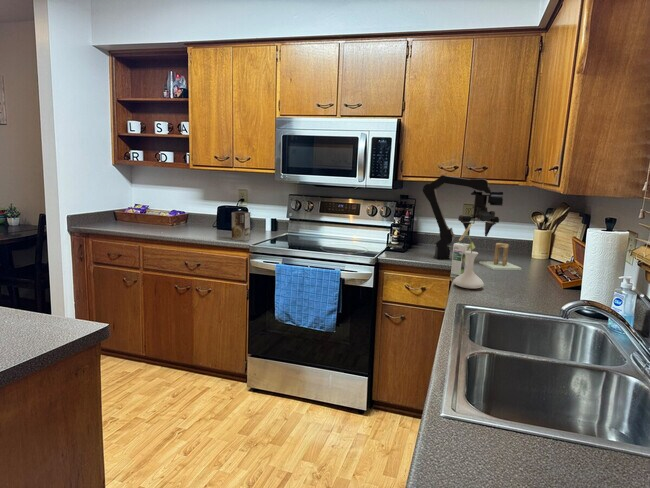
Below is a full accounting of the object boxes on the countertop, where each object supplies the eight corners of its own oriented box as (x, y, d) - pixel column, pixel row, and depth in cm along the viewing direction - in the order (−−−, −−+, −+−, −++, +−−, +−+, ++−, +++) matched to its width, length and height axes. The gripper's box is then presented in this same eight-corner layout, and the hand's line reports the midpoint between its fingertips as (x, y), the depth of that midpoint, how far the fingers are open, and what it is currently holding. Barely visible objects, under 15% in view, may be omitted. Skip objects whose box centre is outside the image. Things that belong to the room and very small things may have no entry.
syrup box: (449, 277, 194) (452, 243, 192) (457, 275, 199) (460, 242, 196) (462, 279, 190) (465, 245, 188) (469, 277, 195) (472, 244, 192)
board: (493, 269, 212) (493, 267, 212) (479, 263, 226) (479, 261, 226) (521, 270, 214) (521, 268, 214) (505, 263, 228) (506, 261, 228)
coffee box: (250, 239, 267) (251, 212, 265) (244, 241, 262) (245, 213, 259) (237, 238, 271) (237, 211, 268) (231, 239, 265) (231, 211, 262)
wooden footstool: (493, 264, 219) (495, 244, 217) (495, 263, 223) (497, 242, 222) (504, 266, 217) (506, 245, 215) (506, 264, 221) (508, 244, 219)
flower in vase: (461, 281, 187) (467, 220, 183) (488, 287, 179) (495, 224, 175) (445, 287, 178) (450, 222, 173) (472, 293, 170) (479, 226, 166)
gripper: (469, 205, 215) (466, 238, 217) (506, 206, 217) (503, 239, 220) (459, 203, 226) (456, 235, 228) (494, 204, 228) (491, 235, 231)
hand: (477, 236), depth 227 cm, fingers open, 9 cm apart
